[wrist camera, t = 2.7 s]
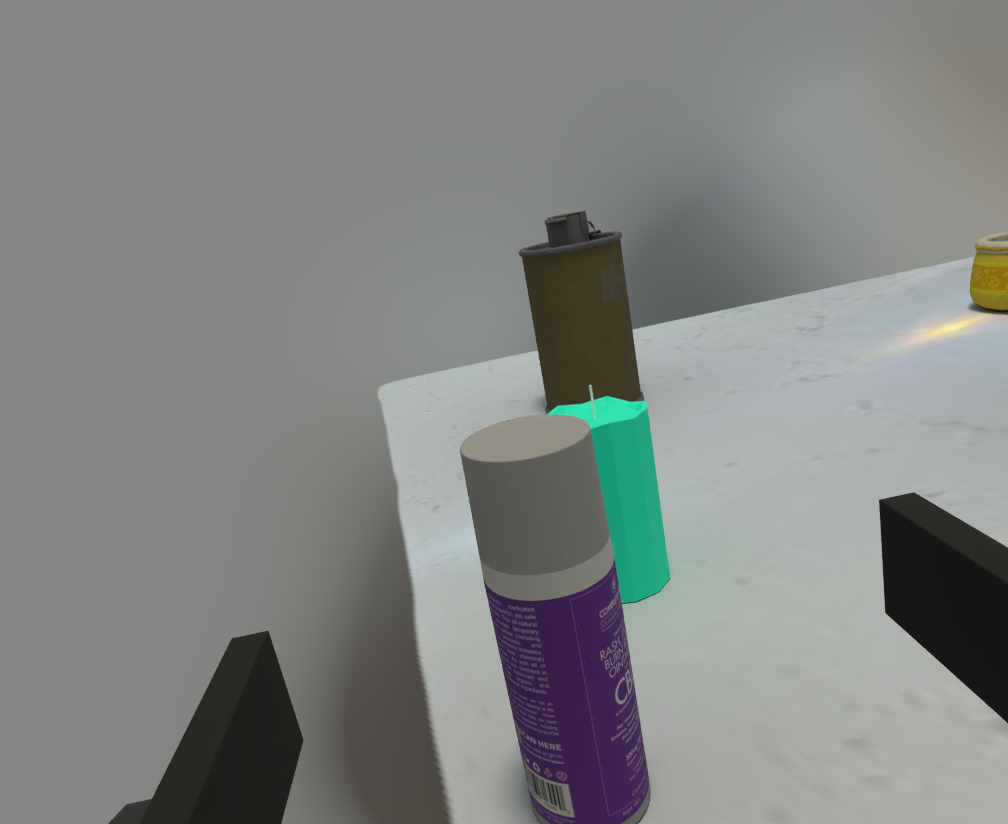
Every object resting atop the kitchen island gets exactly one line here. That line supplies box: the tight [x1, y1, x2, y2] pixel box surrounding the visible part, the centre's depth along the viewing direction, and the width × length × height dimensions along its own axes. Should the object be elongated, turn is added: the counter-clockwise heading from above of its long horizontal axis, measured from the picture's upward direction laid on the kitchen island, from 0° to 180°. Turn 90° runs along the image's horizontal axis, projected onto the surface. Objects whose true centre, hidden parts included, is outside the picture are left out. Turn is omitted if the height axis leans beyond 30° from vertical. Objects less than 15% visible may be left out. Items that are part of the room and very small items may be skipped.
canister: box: [519, 211, 644, 414], centre depth 75 cm, size 11×10×20 cm
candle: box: [546, 385, 670, 603], centre depth 42 cm, size 6×6×12 cm
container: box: [460, 415, 650, 824], centre depth 27 cm, size 5×5×15 cm
